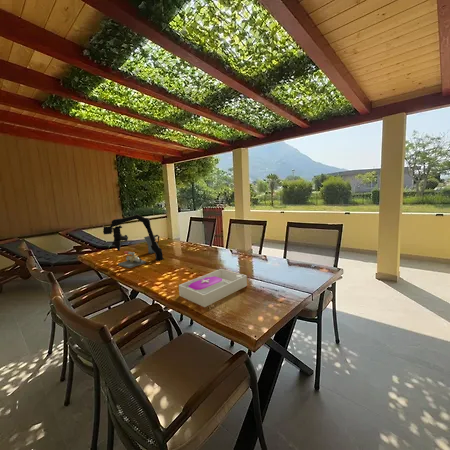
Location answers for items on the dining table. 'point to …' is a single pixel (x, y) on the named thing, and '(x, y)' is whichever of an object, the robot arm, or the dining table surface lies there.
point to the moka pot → (150, 243)
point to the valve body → (133, 259)
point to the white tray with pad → (212, 286)
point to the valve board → (130, 264)
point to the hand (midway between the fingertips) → (119, 250)
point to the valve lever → (129, 252)
